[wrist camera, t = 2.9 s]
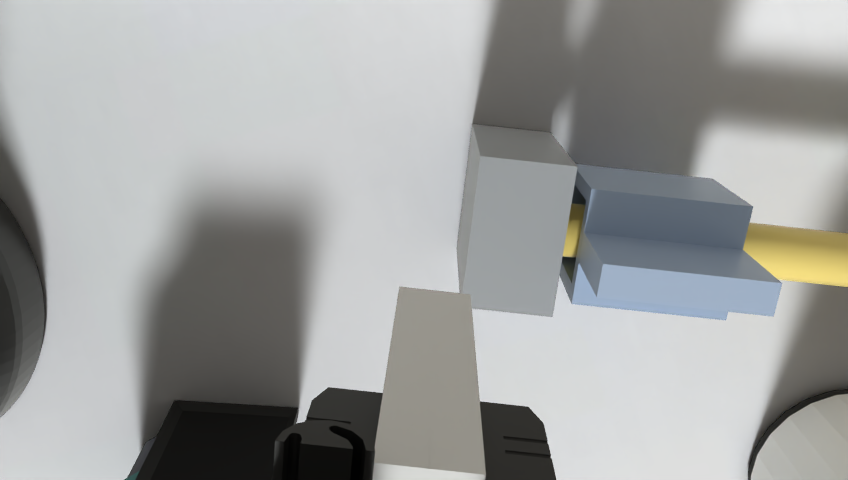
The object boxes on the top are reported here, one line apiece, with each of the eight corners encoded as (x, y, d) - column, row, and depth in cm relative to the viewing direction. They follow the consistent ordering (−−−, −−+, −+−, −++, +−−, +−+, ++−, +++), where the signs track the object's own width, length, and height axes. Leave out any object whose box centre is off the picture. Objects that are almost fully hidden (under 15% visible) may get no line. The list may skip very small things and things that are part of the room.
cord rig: (456, 248, 32) (461, 316, 25) (472, 123, 30) (481, 161, 24) (1000, 306, 32) (1146, 389, 26) (1042, 186, 31) (1209, 240, 24)
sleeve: (555, 264, 29) (588, 343, 23) (572, 163, 28) (611, 215, 22) (690, 279, 29) (761, 361, 23) (712, 178, 28) (794, 235, 22)
